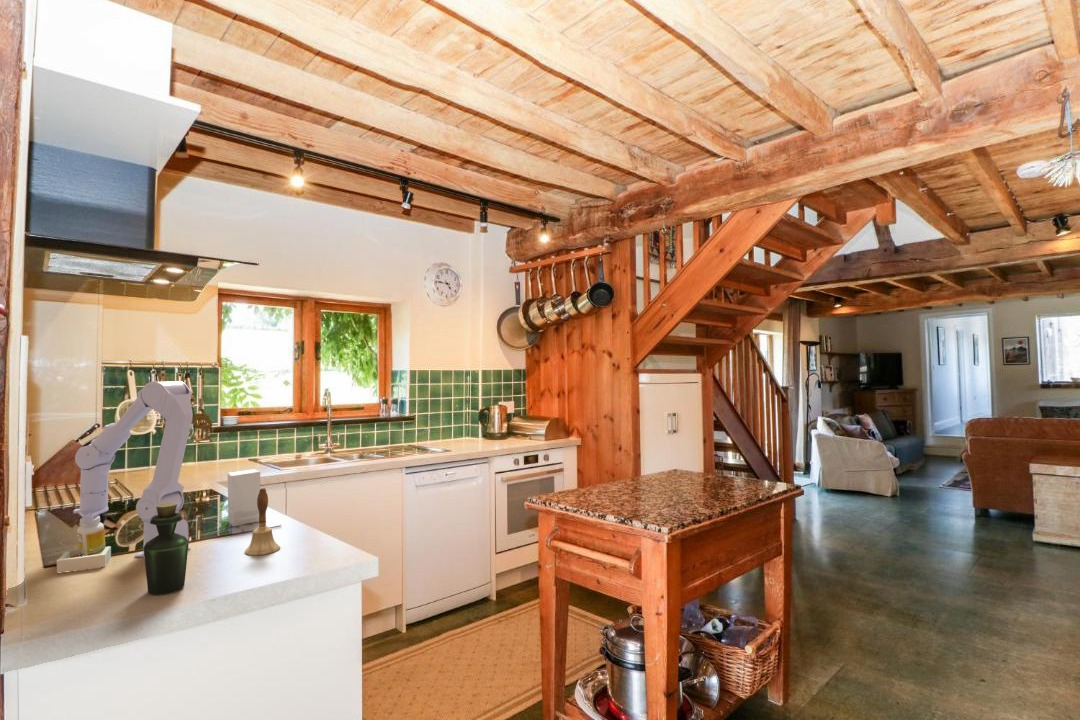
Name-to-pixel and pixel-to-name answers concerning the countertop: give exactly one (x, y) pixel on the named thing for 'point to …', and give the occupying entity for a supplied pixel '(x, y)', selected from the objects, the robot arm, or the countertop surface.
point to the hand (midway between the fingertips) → (92, 544)
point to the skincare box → (243, 497)
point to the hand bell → (262, 530)
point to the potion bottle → (166, 553)
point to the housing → (83, 561)
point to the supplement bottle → (91, 537)
